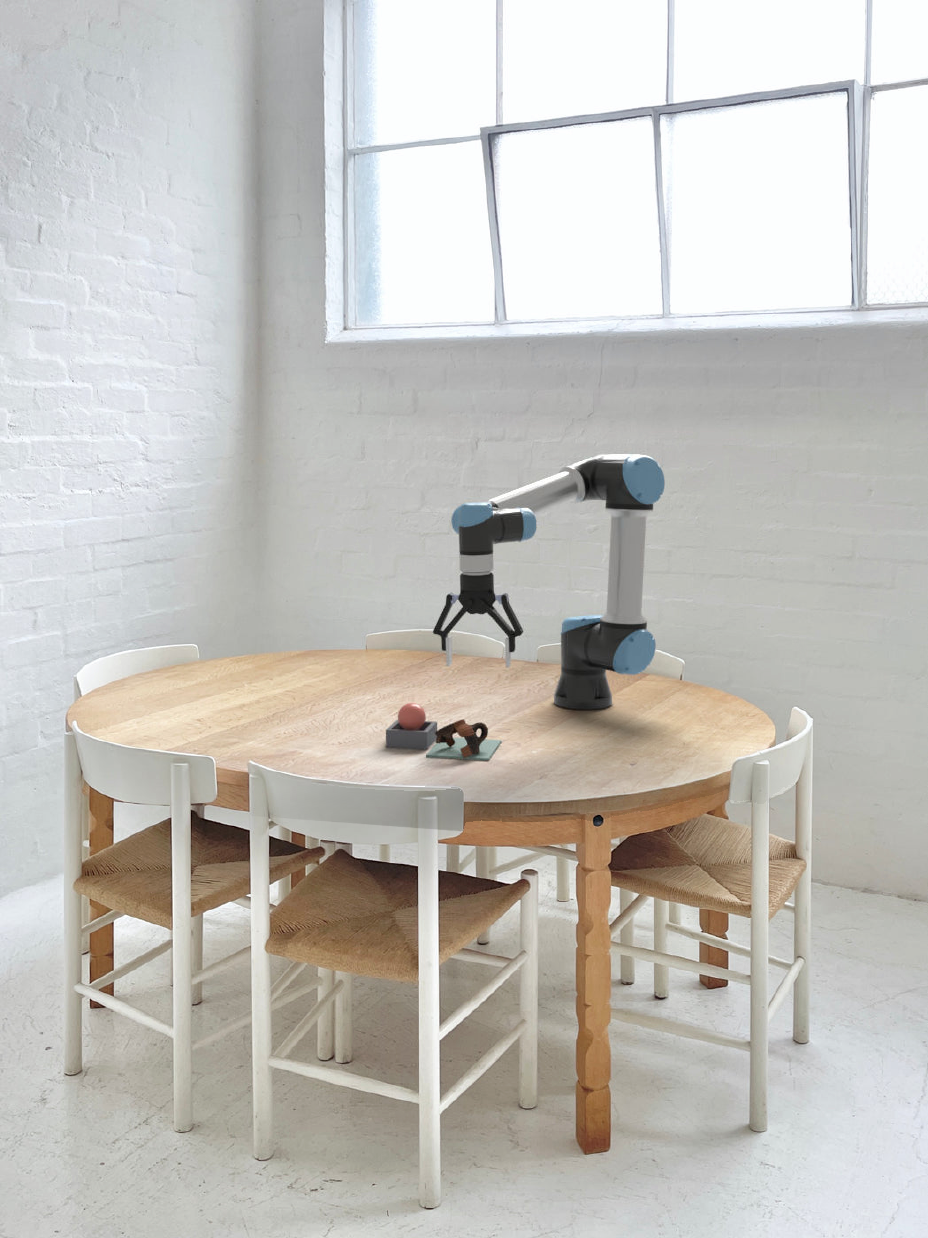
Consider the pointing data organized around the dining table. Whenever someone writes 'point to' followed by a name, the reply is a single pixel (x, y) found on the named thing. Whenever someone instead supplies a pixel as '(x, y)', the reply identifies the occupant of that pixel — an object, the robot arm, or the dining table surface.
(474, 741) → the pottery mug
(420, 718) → the pinkish red ball
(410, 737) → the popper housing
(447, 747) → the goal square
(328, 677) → the dining table surface
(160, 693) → the dining table surface
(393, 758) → the dining table surface
